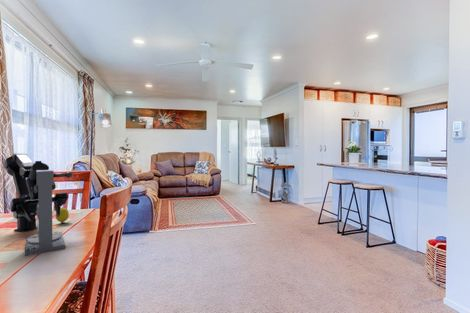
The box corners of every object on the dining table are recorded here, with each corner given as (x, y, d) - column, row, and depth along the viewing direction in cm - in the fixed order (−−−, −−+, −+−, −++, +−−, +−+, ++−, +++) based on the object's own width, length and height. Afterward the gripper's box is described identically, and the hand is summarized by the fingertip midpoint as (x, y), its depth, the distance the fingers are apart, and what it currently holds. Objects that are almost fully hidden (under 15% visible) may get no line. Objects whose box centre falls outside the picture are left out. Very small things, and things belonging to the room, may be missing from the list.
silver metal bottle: (34, 236, 103) (34, 201, 102) (49, 233, 107) (48, 199, 107) (40, 239, 100) (39, 202, 100) (54, 235, 104) (54, 200, 104)
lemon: (54, 225, 126) (54, 209, 126) (56, 222, 131) (56, 206, 131) (68, 223, 129) (68, 207, 129) (69, 220, 134) (69, 205, 134)
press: (26, 241, 105) (25, 168, 104) (68, 234, 114) (68, 166, 113) (24, 257, 90) (23, 172, 89) (73, 247, 99) (73, 170, 98)
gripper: (11, 177, 98) (19, 210, 92) (66, 174, 113) (76, 202, 106) (6, 195, 103) (14, 228, 97) (60, 189, 118) (69, 217, 111)
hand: (45, 218), depth 103 cm, fingers open, 9 cm apart
